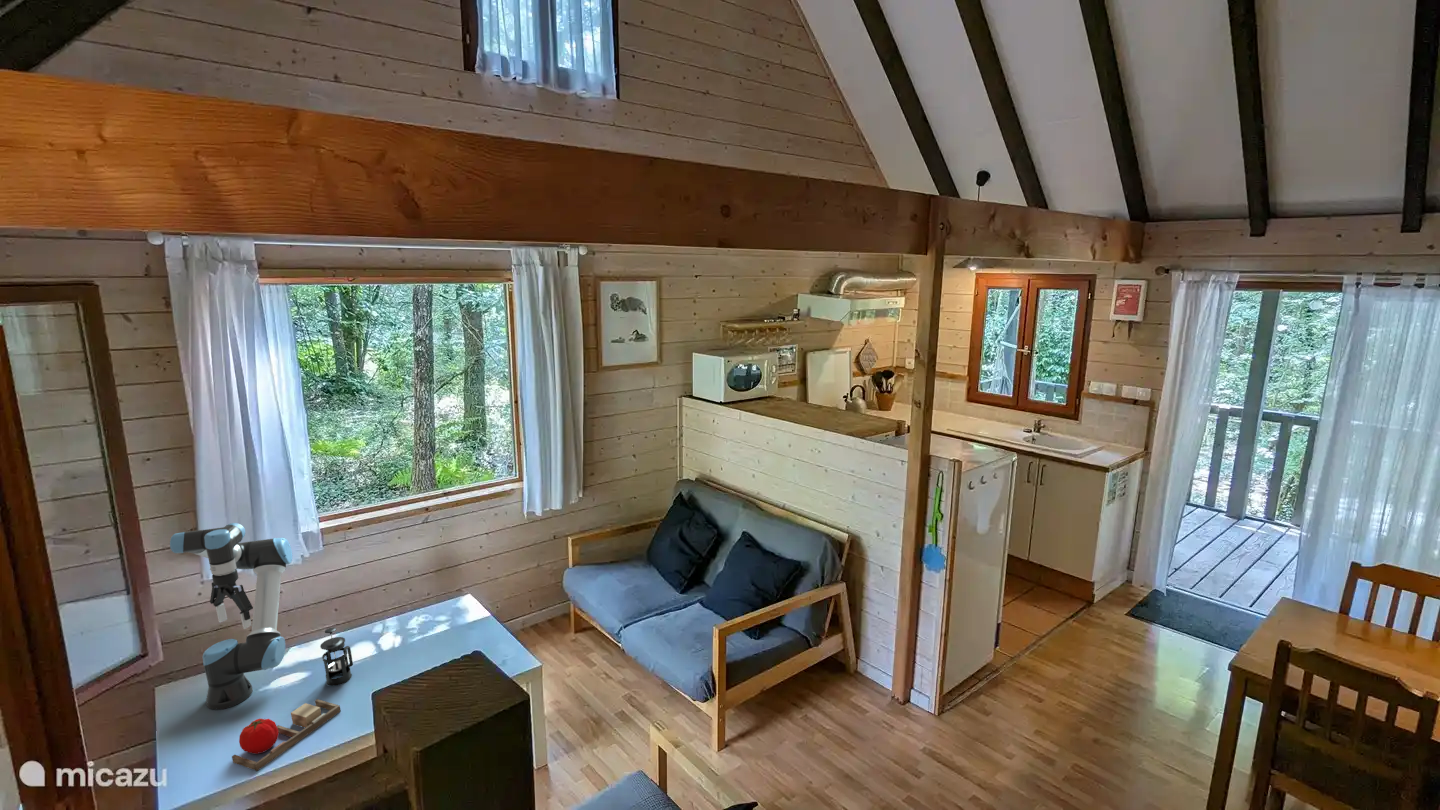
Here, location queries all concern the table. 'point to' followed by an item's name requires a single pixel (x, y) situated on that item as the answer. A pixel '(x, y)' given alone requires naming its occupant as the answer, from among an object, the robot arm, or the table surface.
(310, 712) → the light wooden block
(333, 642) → the french press
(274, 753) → the rack
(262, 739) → the tomato
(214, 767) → the table surface
